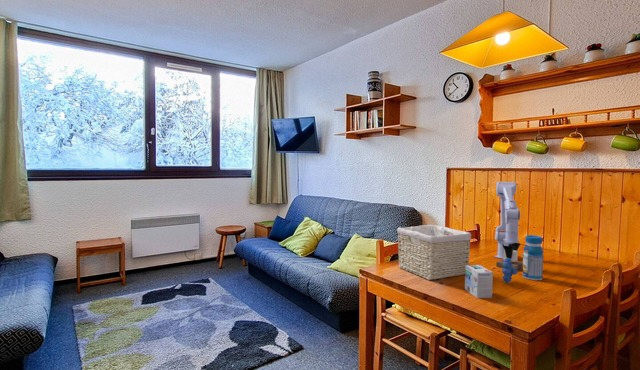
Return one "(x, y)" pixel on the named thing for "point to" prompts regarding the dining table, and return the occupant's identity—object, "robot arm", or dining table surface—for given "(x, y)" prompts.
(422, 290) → the dining table surface
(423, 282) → the dining table surface
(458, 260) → the basket
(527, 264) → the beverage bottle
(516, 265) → the walnut block
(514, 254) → the off-white block
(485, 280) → the light bulb box
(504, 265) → the grapes
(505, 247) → the robot arm
